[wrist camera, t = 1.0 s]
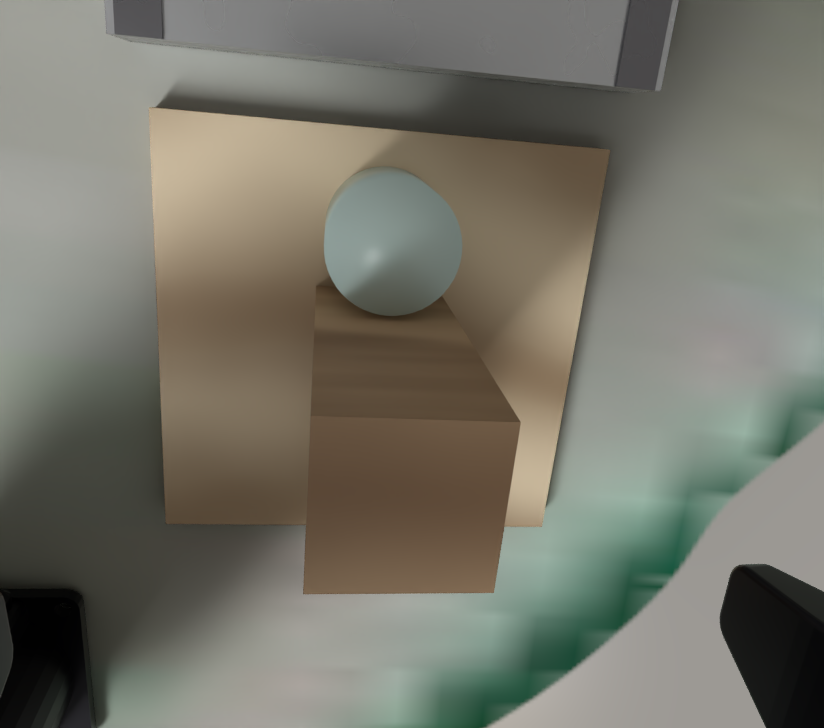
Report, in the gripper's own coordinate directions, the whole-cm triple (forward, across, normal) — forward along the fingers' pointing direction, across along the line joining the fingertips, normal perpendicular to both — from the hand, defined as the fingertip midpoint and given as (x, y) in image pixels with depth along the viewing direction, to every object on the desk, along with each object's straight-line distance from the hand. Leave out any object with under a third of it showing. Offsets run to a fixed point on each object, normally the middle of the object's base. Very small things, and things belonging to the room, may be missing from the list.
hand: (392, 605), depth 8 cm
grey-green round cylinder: (+12, -1, -3) cm, 12 cm away
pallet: (+13, -1, +1) cm, 13 cm away
